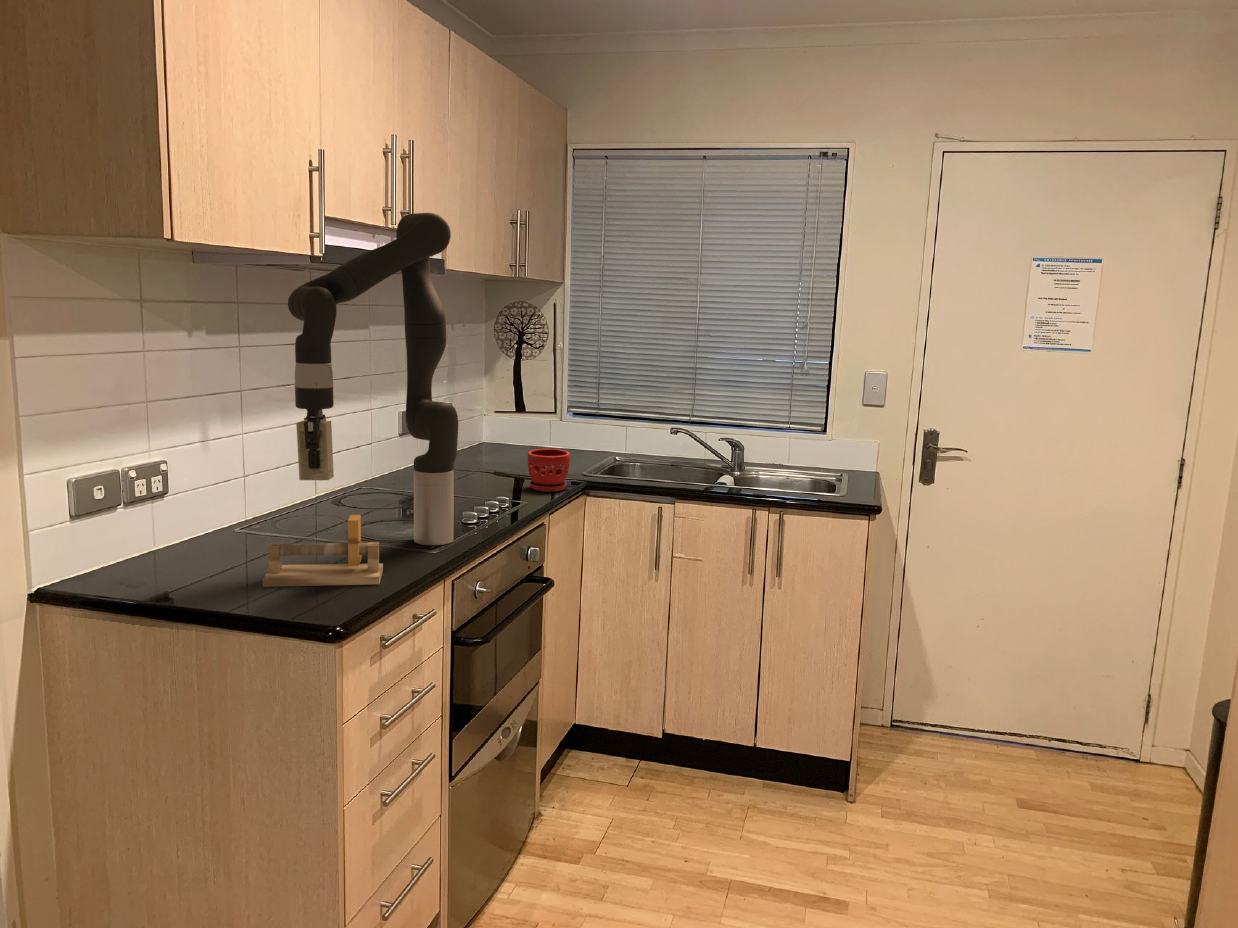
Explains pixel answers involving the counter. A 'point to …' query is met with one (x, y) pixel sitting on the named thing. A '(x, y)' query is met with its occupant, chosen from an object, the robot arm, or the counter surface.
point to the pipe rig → (322, 566)
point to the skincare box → (325, 454)
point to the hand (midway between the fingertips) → (316, 465)
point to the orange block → (354, 540)
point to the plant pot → (548, 469)
